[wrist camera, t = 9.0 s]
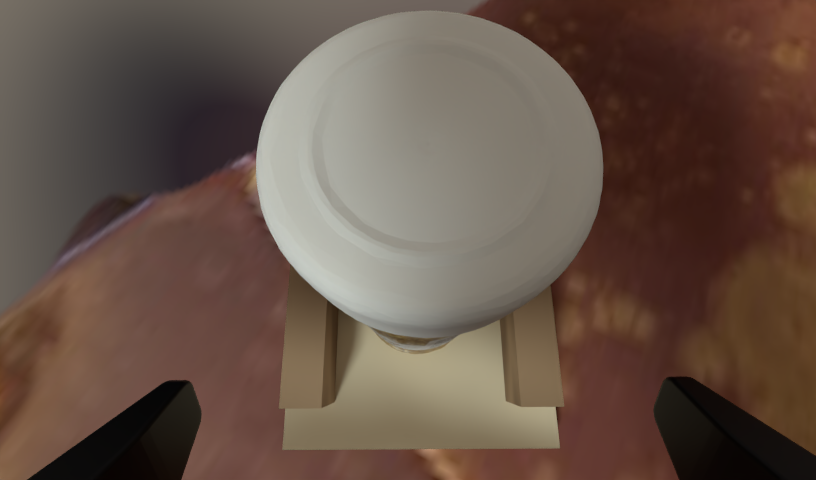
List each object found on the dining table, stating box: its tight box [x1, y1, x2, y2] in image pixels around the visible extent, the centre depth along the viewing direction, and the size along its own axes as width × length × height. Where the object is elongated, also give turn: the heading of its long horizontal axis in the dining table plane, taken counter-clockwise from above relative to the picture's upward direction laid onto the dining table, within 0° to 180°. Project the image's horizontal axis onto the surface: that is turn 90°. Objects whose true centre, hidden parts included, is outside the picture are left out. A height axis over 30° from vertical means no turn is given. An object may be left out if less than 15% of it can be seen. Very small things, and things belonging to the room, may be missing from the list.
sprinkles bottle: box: [256, 11, 603, 354], centre depth 11 cm, size 5×5×14 cm
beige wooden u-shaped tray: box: [279, 264, 564, 450], centre depth 17 cm, size 12×11×4 cm
